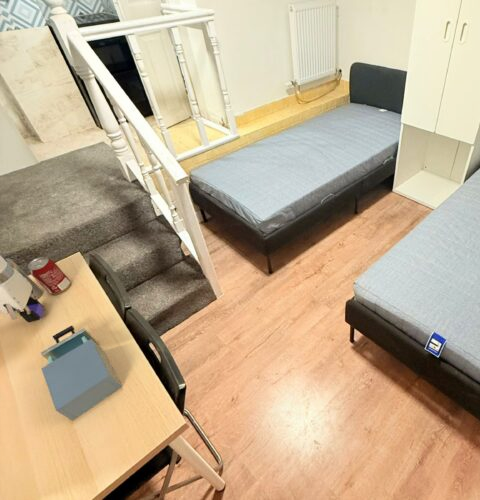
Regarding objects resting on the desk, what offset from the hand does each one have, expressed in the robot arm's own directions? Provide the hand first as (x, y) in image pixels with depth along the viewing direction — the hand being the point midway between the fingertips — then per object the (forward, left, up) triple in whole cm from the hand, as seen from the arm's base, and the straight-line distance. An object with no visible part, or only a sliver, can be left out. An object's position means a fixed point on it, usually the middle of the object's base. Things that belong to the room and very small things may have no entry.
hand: (36, 314), depth 103 cm
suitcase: (+20, -30, -2) cm, 36 cm away
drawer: (+15, -21, -1) cm, 26 cm away
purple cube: (0, 0, 0) cm, 0 cm away
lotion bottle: (-4, +10, -2) cm, 11 cm away
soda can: (+4, +11, -2) cm, 12 cm away
